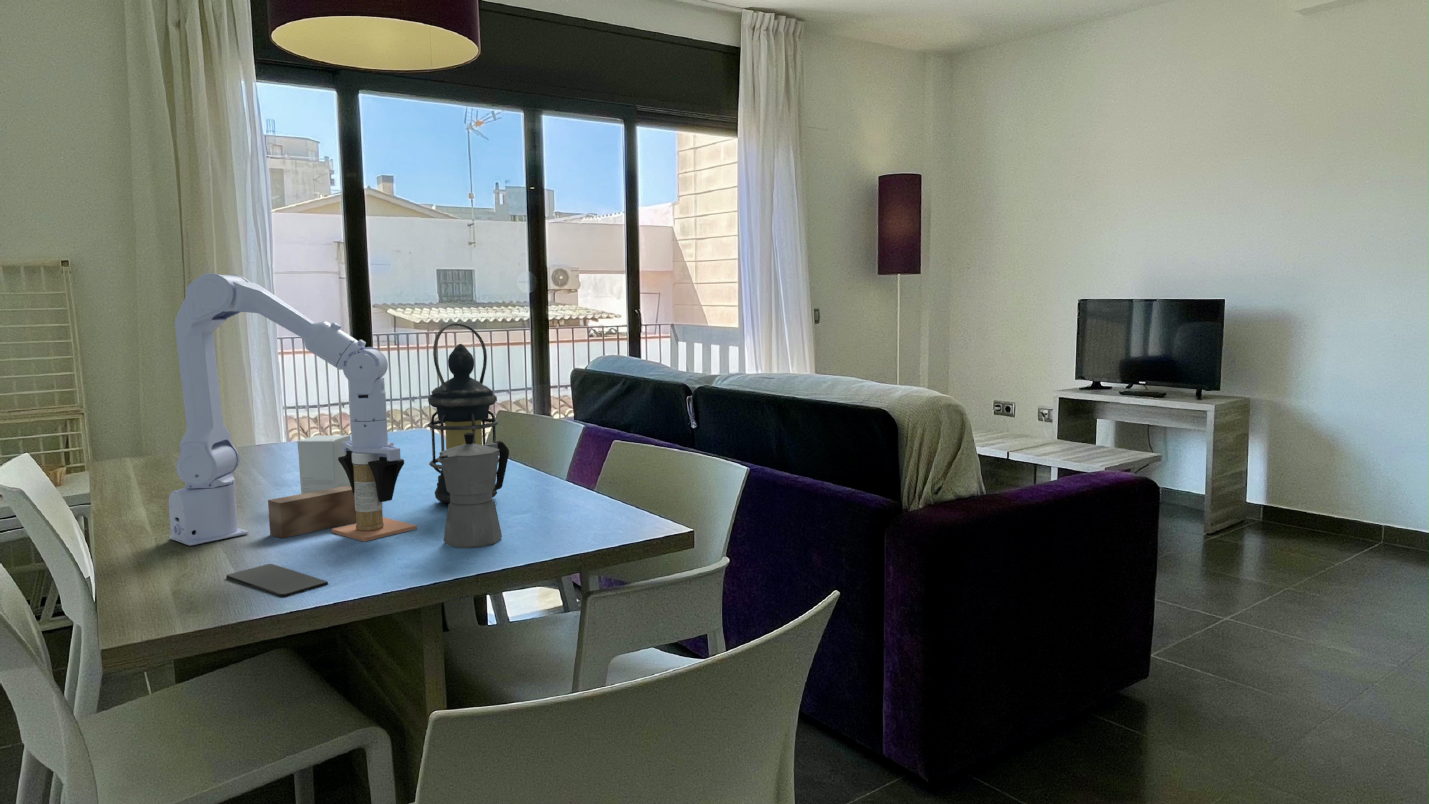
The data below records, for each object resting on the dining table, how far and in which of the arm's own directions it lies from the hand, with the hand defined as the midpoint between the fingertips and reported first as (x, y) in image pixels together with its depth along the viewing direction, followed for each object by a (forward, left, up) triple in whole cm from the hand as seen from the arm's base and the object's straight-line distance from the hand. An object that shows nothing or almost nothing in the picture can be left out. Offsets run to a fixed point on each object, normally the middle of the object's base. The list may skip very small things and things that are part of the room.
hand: (372, 498), depth 152 cm
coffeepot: (+7, -19, -6) cm, 21 cm away
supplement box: (+8, +29, -6) cm, 31 cm away
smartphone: (-24, -14, -6) cm, 28 cm away
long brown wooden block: (-3, +10, -6) cm, 12 cm away
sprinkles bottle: (-1, 0, -5) cm, 5 cm away
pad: (0, 0, -6) cm, 6 cm away
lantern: (+23, +5, -6) cm, 24 cm away
